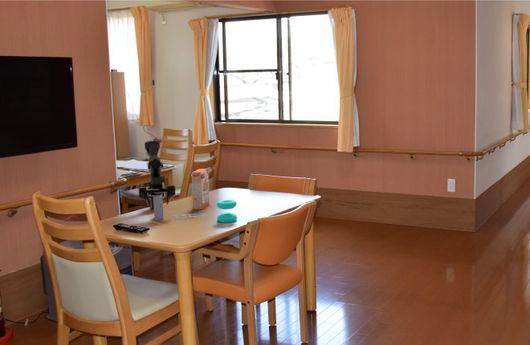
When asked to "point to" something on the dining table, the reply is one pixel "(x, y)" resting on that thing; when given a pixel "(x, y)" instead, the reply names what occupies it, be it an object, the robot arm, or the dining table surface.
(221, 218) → the donuts
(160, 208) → the grey-blue tall block
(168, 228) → the dining table surface
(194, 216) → the board
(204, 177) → the cracker box
